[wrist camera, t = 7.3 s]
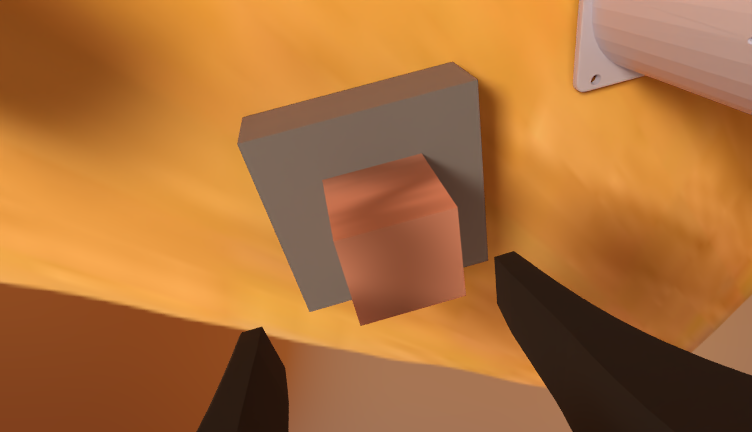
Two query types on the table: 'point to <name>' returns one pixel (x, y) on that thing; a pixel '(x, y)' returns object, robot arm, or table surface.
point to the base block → (364, 162)
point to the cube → (395, 238)
